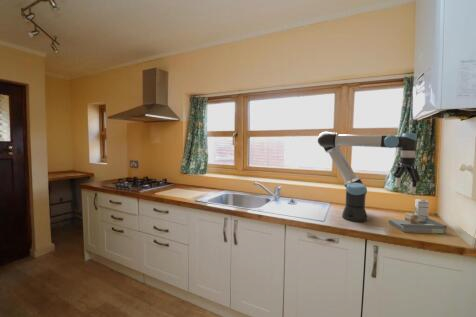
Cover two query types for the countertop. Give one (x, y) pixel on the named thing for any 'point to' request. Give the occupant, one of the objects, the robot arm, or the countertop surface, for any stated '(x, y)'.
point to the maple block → (412, 218)
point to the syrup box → (422, 209)
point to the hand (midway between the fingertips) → (404, 189)
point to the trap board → (419, 226)
